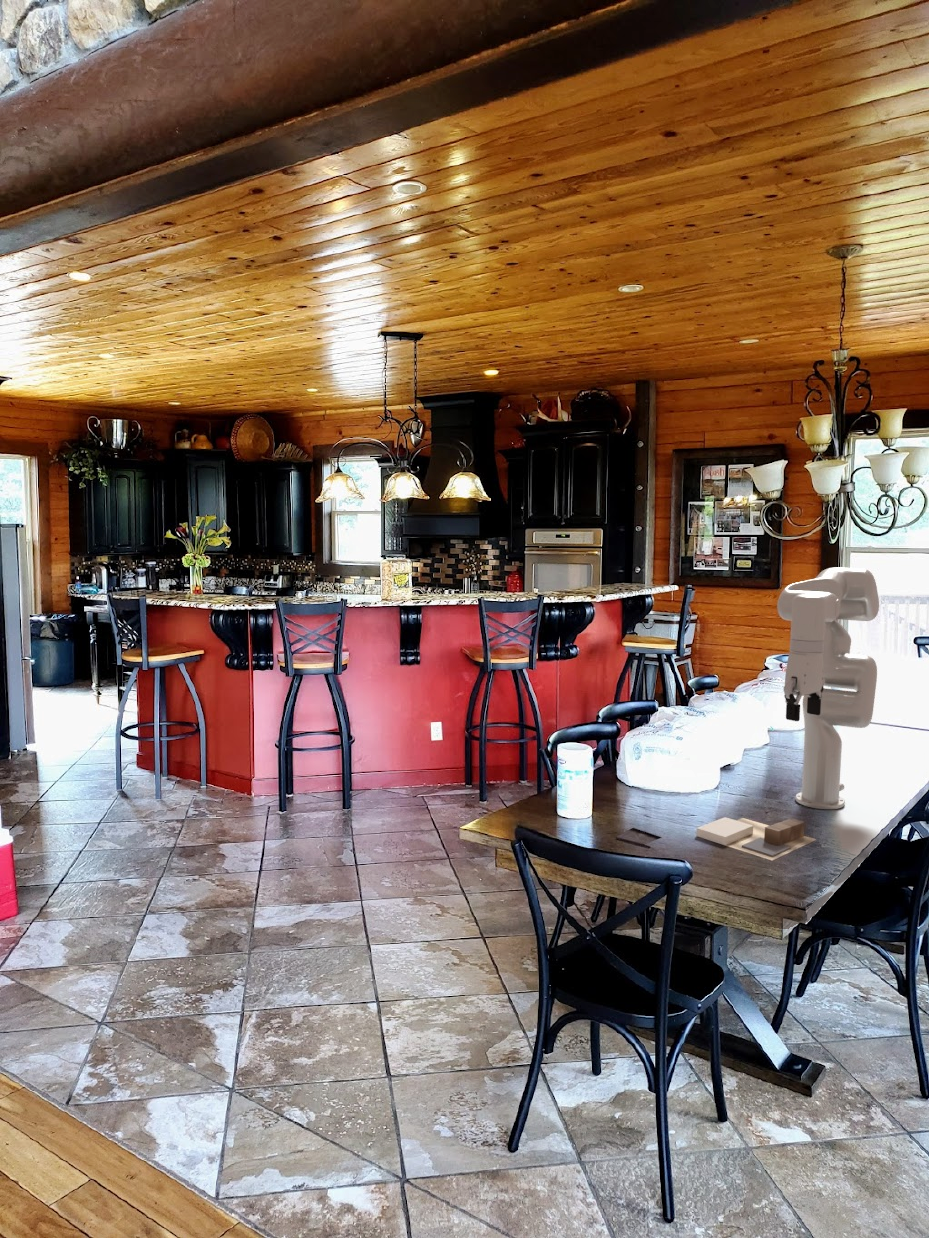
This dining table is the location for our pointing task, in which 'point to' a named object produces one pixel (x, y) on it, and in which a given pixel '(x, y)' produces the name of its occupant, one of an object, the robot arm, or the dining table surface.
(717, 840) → the tile
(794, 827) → the brown wooden block
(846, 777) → the dining table surface
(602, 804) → the dining table surface
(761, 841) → the mat
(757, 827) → the board
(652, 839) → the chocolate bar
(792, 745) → the dining table surface
